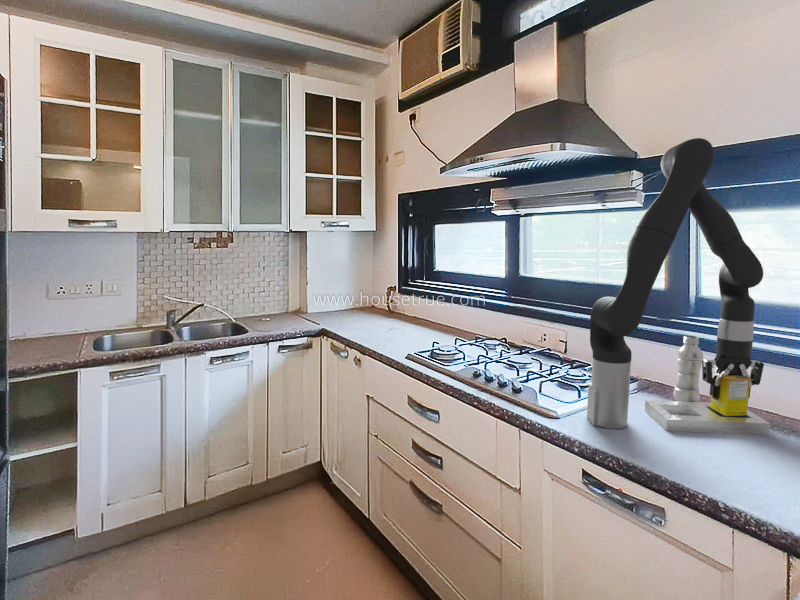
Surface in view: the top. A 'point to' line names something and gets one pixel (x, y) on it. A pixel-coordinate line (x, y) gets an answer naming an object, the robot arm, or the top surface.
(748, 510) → the top surface
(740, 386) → the supplement box
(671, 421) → the rail plate
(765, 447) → the top surface
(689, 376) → the plastic bottle
